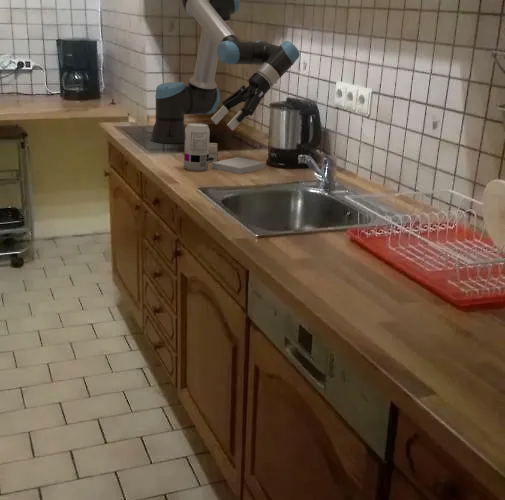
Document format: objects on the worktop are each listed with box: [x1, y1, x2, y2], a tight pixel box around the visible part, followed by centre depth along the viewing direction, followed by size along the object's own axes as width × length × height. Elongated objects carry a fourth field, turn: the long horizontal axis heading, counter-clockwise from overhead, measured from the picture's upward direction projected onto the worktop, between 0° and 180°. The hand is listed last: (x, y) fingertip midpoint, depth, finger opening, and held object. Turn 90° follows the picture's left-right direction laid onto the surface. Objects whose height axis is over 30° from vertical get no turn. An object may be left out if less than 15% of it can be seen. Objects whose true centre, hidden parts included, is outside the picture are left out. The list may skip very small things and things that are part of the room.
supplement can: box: [183, 122, 211, 172], centre depth 229 cm, size 8×8×15 cm
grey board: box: [211, 156, 266, 175], centre depth 236 cm, size 15×12×2 cm
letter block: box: [209, 142, 218, 164], centre depth 245 cm, size 6×6×6 cm
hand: (221, 124), depth 229 cm, fingers open, 13 cm apart
